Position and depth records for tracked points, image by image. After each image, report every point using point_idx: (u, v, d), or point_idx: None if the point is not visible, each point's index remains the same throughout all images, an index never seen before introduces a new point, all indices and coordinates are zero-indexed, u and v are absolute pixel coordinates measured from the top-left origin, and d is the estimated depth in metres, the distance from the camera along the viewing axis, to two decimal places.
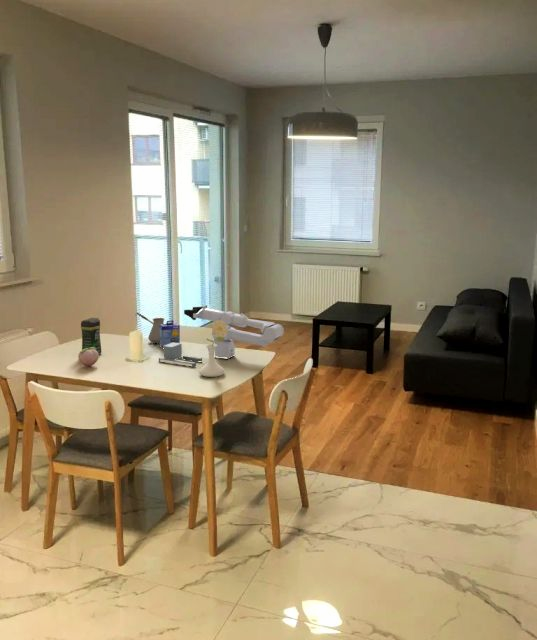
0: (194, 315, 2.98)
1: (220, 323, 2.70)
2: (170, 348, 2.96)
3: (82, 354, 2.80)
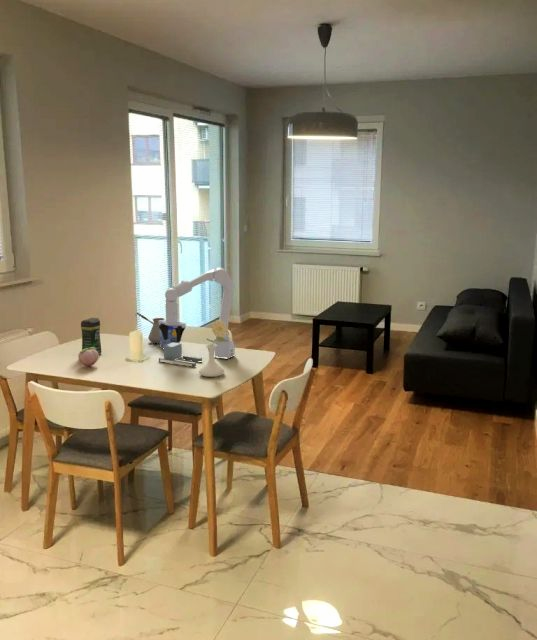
0: (184, 325, 2.94)
1: (220, 323, 2.70)
2: (170, 348, 2.96)
3: (82, 354, 2.80)
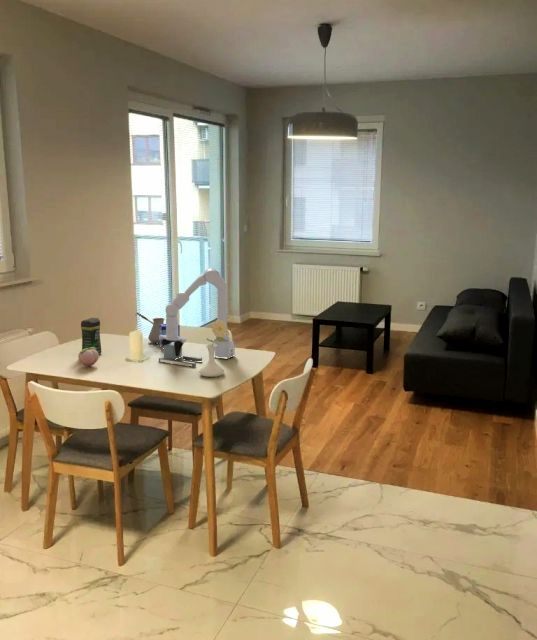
0: (184, 340, 2.96)
1: (220, 323, 2.70)
2: (170, 348, 2.96)
3: (82, 354, 2.80)
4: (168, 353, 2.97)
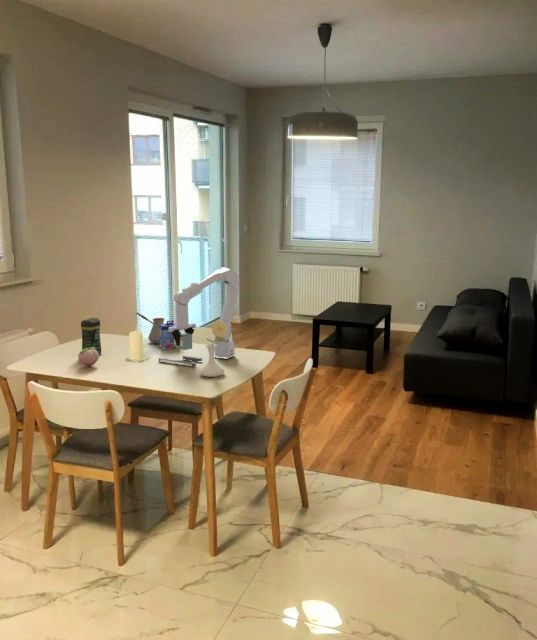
0: None
1: (220, 323, 2.70)
2: (190, 336, 2.91)
3: (82, 354, 2.80)
4: (188, 342, 2.91)
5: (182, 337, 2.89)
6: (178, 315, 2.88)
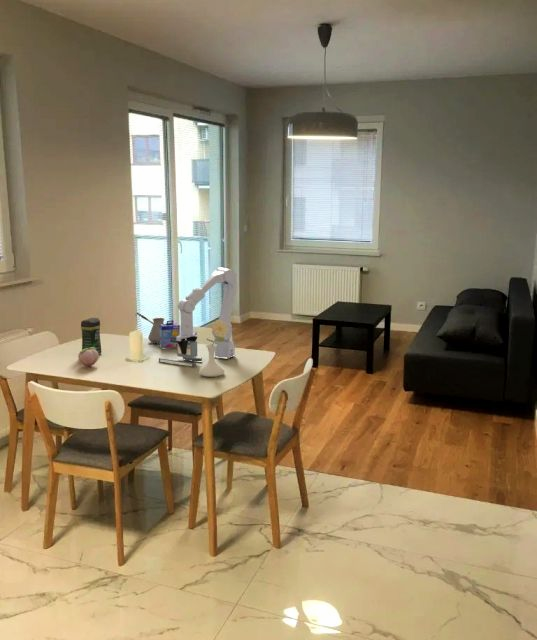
0: None
1: (220, 323, 2.70)
2: (196, 343, 2.91)
3: (82, 354, 2.80)
4: (194, 349, 2.90)
5: (190, 345, 2.88)
6: (183, 323, 2.86)
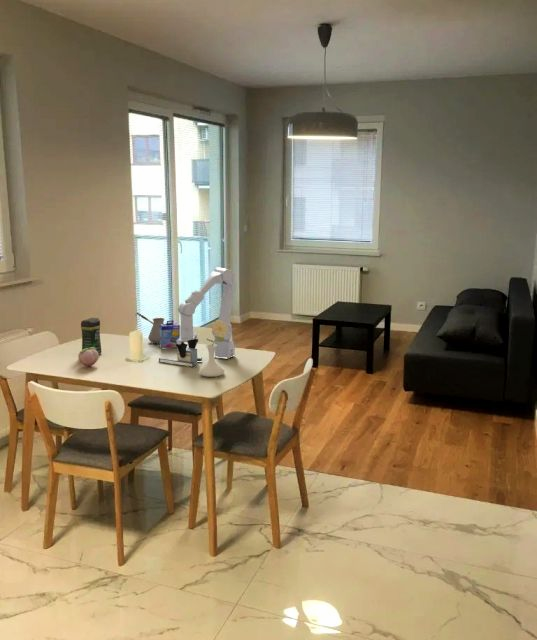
0: None
1: (220, 323, 2.70)
2: (196, 351, 2.91)
3: (82, 354, 2.80)
4: (194, 357, 2.91)
5: (190, 353, 2.88)
6: (183, 327, 2.87)
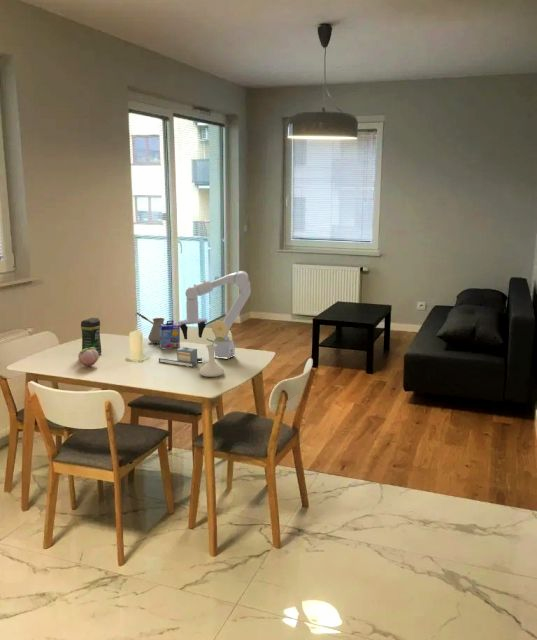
0: None
1: (220, 323, 2.70)
2: (196, 351, 2.91)
3: (82, 354, 2.80)
4: (194, 357, 2.91)
5: (190, 353, 2.88)
6: (187, 309, 2.98)
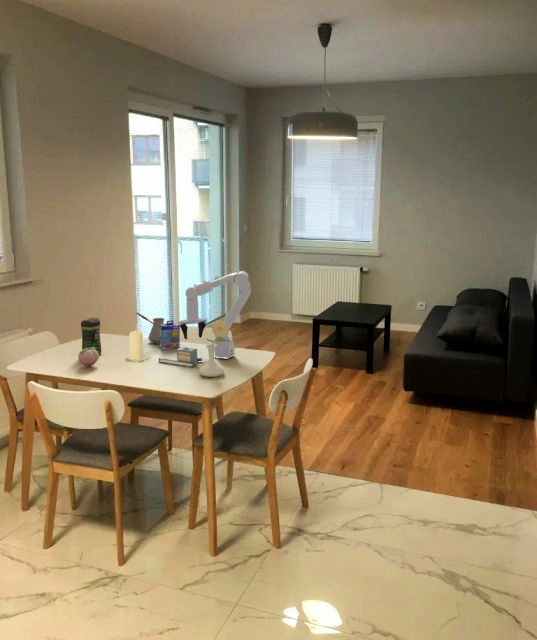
0: None
1: (220, 323, 2.70)
2: (196, 351, 2.91)
3: (82, 354, 2.80)
4: (194, 357, 2.91)
5: (190, 353, 2.88)
6: (187, 309, 2.98)
